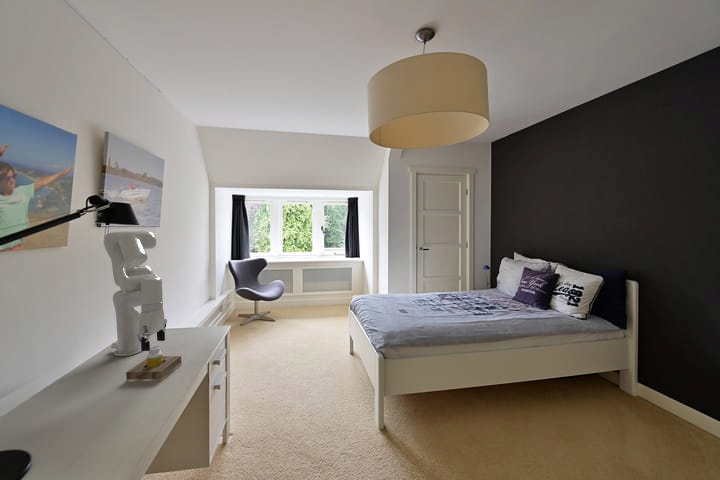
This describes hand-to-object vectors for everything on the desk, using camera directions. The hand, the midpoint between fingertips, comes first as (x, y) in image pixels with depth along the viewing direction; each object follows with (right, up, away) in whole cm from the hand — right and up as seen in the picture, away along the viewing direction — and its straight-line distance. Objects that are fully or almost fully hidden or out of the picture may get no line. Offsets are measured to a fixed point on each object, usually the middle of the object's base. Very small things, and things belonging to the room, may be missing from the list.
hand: (153, 345), depth 127 cm
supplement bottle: (+1, -11, 0) cm, 11 cm away
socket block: (+1, -12, 0) cm, 12 cm away
